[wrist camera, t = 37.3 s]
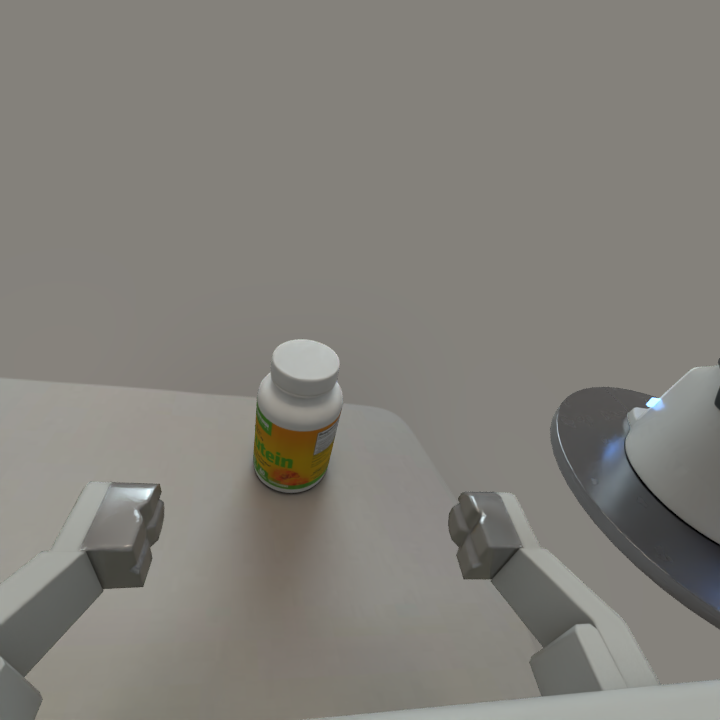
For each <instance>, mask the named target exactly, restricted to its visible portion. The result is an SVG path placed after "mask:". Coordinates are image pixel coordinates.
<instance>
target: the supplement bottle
mask: <svg viewBox="0 0 720 720" xmlns="http://www.w3.org/2000/svg"><path fill="white" fill-rule="evenodd" d="M339 367H340V362H339V358H338V356H337V355H336V353H335V352H334V351H333V350H332V349H330V348H329V347H328V346H326V345H324V344H322V343H319V342H316V341H311V340H303V339H300V340H291V341H287V342H285V343H283V344H281V345H279V346H278V347H277V348H276V349H275V351H274V352H273V355H272V363H271V372H270V373H269V374H268V375H267V376H266V377H265V378H264V379H263V381H262V382H261V384H260V386H259V389H258V395H257V408H256V425H255V442H254V459H253V462H254V468H255V471H256V474H257V476H258V477H259V479H260V480H261V481H262V482H263V483H264V484H266V485H267V486H268V487H270V488H272V489H274V490H277V491H280V492H286V493H296V492H302V491H305V490H307V489H310V488H311V487H313V486H314V485H316V484H317V483H318V482H319V481H320V480H321V479H322V478H323V476H324V474H325V472H326V470H327V467H328V463H329V459H330V455H331V451H332V447H333V443H334V439H335V434H336V430H337V426H338V422H339V418H340V414H341V410H342V404H343V394H342V390H341V388H340V386H339V384H338V383H337V379H338V373H339Z"/></svg>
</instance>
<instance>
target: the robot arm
mask: <svg viewBox="0 0 720 720" xmlns="http://www.w3.org/2000/svg"><path fill="white" fill-rule="evenodd" d="M718 363H719V365H716V366H711V367H710V366H704V367H695V368H693V369H691V370H690V371H688V372H687V373H686V374H685V375H684V376H683V377H682V378H681V379H680V380H678V381H677V382H676V383H675V384H674V385H673V386H672V387H671V388H670V389H669V390H668V391H667V392H666V393H664V394H663V395H662V396H661V397H660V398H651V399H650V400H649V402H648V403H647V404H646V405H647V406H648V407H650V408H648V409H645V408H638V407H636V408H633V409H632V410H631V411H630V412H629V413H628V414H627V418H628V422H629V425H630V432H629V434H628V435H627V437H626V441H625V447H626V452H627V455H628V458H629V460H630V462H631V464H632V466H633V468H634V469H635V471H636V472H637V474H638V475H639V477H640V478H641V479H642V481H643V482H644V483H645V484H646V486H647V487H648V488H649V489H650V490H651V491H652V492H653V493H654V494H655V495H656V496H657V497H658V498H659V499H660V500H661V501H662V502H663V503H664V504H665V505H666V506H667V507H668V508H669V509H670V510H671V511H673V512H674V513H675V514H676V515H677V516H679V517H680V518H681V519H682V520H684V521H685V522H686V523H688V524H689V525H690V526H692V527H693V528H695V529H696V530H698V531H699V532H700V533H702V534H704V535H705V536H707V537H708V538H710V539H711V540H713V541H715V542H717V543H718V544H720V358H719V361H718ZM161 492H162V491H161V487H160V484H147V483H116V482H89V483H88V484H87V485H86V486H85V487H84V488H83V490H82V492H81V494H80V496H79V497H78V499H77V501H76V503H75V505H74V507H73V509H72V510H71V512H70V514H69V516H68V518H67V520H66V522H65V523H64V525H63V527H62V529H61V531H60V533H59V535H58V536H57V538H56V540H55V542H54V544H53V546H52V548H51V549H50V551H42V552H40V553H39V554H38V555H37V556H35V557H34V558H33V559H31V560H30V561H29V562H28V563H26V564H25V565H24V566H22V567H21V568H20V569H19V570H17V571H16V572H15V573H13V574H12V575H11V576H10V577H8V578H7V579H6V580H4V581H3V582H2V583H1V584H0V720H34V719H35V717H36V714H37V712H38V710H39V707H40V705H41V702H42V700H43V699H42V696H41V694H40V692H39V691H38V690H37V689H36V688H35V687H34V686H33V685H31V684H30V683H29V682H28V681H27V680H26V679H25V678H24V677H25V676H26V675H27V674H28V672H29V671H30V670H31V669H32V668H33V667H34V666H35V665H36V664H37V663H38V662H39V661H40V659H41V658H42V657H43V656H44V655H45V654H46V653H47V652H48V651H49V650H50V649H51V648H52V647H53V645H54V644H55V643H56V642H57V641H58V640H59V639H60V638H61V637H62V636H63V635H64V634H65V632H66V631H67V630H68V629H69V628H70V627H71V626H72V625H73V624H74V623H75V622H76V621H77V619H78V618H79V617H80V616H81V615H82V614H83V613H84V612H85V611H86V610H87V609H88V608H89V606H90V605H91V604H92V603H93V602H94V601H95V600H96V599H97V598H98V597H99V596H100V595H101V593H102V592H103V589H112V588H132V587H143V586H144V583H145V580H146V577H147V574H148V570H149V567H150V564H151V561H152V554H151V550H150V547H151V546H152V545H153V544H154V543H155V542H157V541H158V539H159V536H160V533H161V529H162V525H163V519H164V502H163V501H161V500H160V499H159V498H160V495H161ZM458 500H459V504H457V505H456V506H454V507H452V509H451V511H450V513H449V519H448V526H449V532H450V536H451V539H452V541H453V542H454V543H455V544H456V545H457V546H458V547H459V548H458V552H457V555H456V556H457V559H458V562H459V566H460V569H461V572H462V575H463V579H492V580H491V582H492V583H493V585H494V586H495V587H496V588H497V590H498V591H499V592H500V593H501V595H502V596H503V597H504V599H505V600H506V601H507V602H508V604H509V605H510V606H511V607H512V609H513V610H514V611H515V612H516V614H517V615H518V616H519V617H520V619H521V620H522V621H523V623H524V624H525V625H526V626H527V628H528V629H529V630H530V631H531V633H532V634H533V635H534V636H535V638H536V639H537V640H538V641H539V643H540V644H541V645H542V646H543V649H541V650H540V651H538V652H537V653H536V654H534V655H533V656H532V657H531V659H530V662H529V663H530V665H531V668H532V671H533V674H534V677H535V679H536V682H537V685H538V688H539V690H540V693H541V696H542V697H532V698H522V699H511V700H501V701H491V702H480V703H470V704H460V705H449V706H439V707H429V708H418V709H408V710H398V711H388V712H377V713H367V714H357V715H346V716H336V717H326V718H315V719H305V720H720V679H717V680H708V681H697V682H686V683H676V684H666V685H661V684H660V682H659V680H658V678H657V677H656V675H655V673H654V671H653V670H652V668H651V666H650V664H649V663H648V661H647V659H646V657H645V656H644V654H643V652H642V650H641V649H640V647H639V645H638V643H637V641H636V640H635V638H634V636H633V635H632V633H631V631H630V629H629V627H628V626H627V624H626V622H625V621H624V619H622V618H621V617H620V616H619V615H618V614H617V613H616V612H615V611H614V610H613V609H611V608H610V607H609V606H608V605H607V604H606V603H605V602H604V601H603V600H602V599H601V598H599V597H598V596H597V595H596V594H595V593H594V592H593V591H592V590H591V589H590V588H589V587H588V586H587V585H585V584H584V583H583V582H582V581H581V580H580V579H579V578H578V577H577V576H576V575H575V574H573V573H572V572H571V571H570V570H569V569H568V568H567V567H566V566H565V565H564V564H563V563H561V562H560V561H559V560H558V559H557V558H556V557H555V556H554V555H553V554H551V552H550V551H548V550H547V549H546V548H541V547H540V544H539V542H538V540H537V538H536V536H535V534H534V532H533V530H532V528H531V526H530V524H529V522H528V520H527V518H526V516H525V514H524V512H523V510H522V508H521V506H520V503H519V501H518V499H517V498H516V496H515V495H514V494H512V493H499V492H463V493H461V495H460V496H459V498H458Z"/></svg>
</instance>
